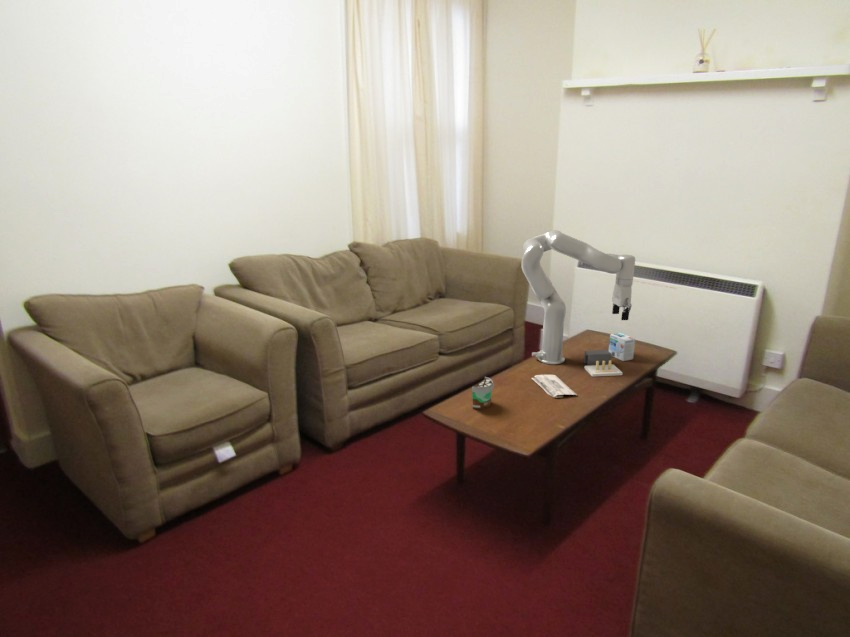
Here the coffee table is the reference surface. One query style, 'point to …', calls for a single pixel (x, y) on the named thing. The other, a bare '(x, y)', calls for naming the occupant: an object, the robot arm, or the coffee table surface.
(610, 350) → the light bulb box
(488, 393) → the food container
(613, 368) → the board
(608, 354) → the block
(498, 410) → the coffee table surface
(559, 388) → the newspaper
